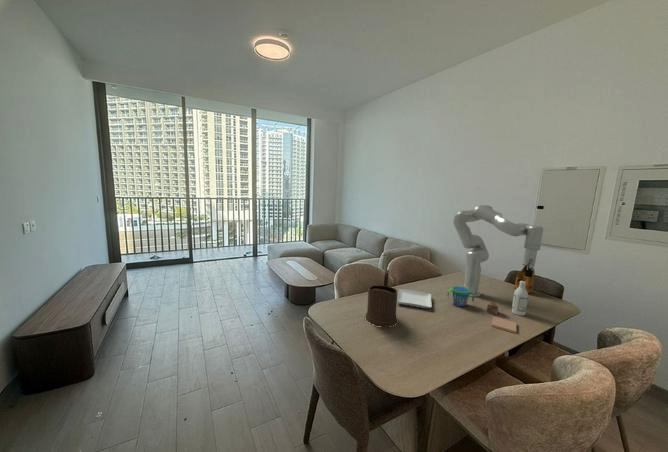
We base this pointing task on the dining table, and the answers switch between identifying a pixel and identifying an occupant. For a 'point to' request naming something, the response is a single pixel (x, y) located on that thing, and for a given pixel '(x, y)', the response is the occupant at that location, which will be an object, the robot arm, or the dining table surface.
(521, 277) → the orange cat figurine
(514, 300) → the bath foam
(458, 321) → the dining table surface
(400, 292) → the salad plate
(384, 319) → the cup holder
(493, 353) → the dining table surface
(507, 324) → the terracotta tile
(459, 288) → the snack cup
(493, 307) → the walnut cube
